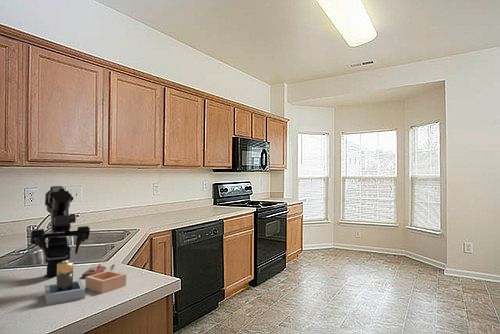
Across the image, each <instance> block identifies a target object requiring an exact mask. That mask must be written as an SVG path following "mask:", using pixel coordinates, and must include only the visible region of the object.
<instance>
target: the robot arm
mask: <svg viewBox="0 0 500 334" xmlns="http://www.w3.org/2000/svg"><path fill="white" fill-rule="evenodd" d="M44 196H45V198H44V206H45V207H46V211H47V212H48V213H49V214H50V232H49V231H48V232H45V229H44V228H40V229H39V228H38V229H32V230H31V231H30V244H31V245H34V246H36V247H39V249H40V250H41V251H42V254H44V262H45V263H47V266H46V274H44V277H47V278H57V264H58V263H60V262H62V261H66V260H68V261H69V260H70V259H71V250H72V248H71V247H70V245H69V244H68V239H67V238H68V237H76V240H75V249H74V250H75V255H78V251H79V249H80V246H81V244H82V243H83V242H85V241H86V240H88V239H89V236H90V234H91V230H90V229H91V228H90V227H89V226H88V225H82V226H77V229H76V230H71V227H72V226H71V224H75V223H76V213H70V212H69V209H70V206H71V205H70V204H71V203H72V201H74V197H73V195H72V193H70V191H69V190H66V189H65V188H64V186H62V185H53V186H50V188H49V190H47V192H46V193H45V195H44ZM46 239H48V241H46Z"/></svg>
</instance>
